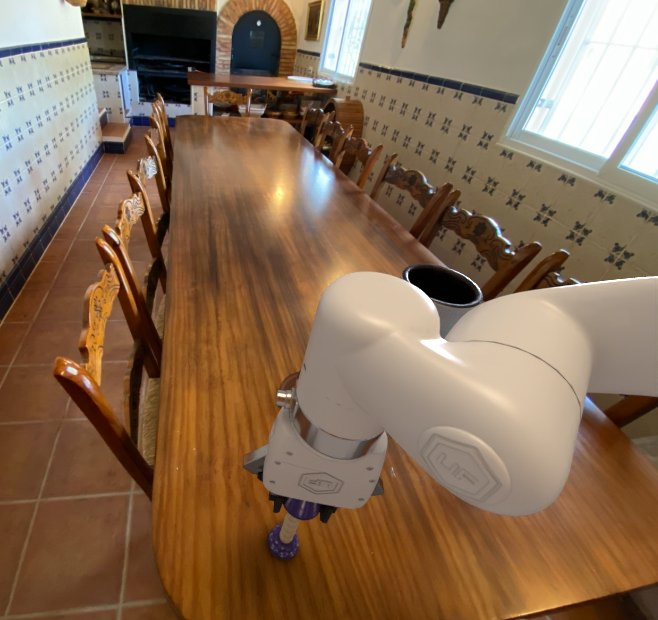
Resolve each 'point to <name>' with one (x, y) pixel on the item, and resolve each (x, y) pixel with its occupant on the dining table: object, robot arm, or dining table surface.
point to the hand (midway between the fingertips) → (299, 503)
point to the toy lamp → (291, 527)
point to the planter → (445, 292)
